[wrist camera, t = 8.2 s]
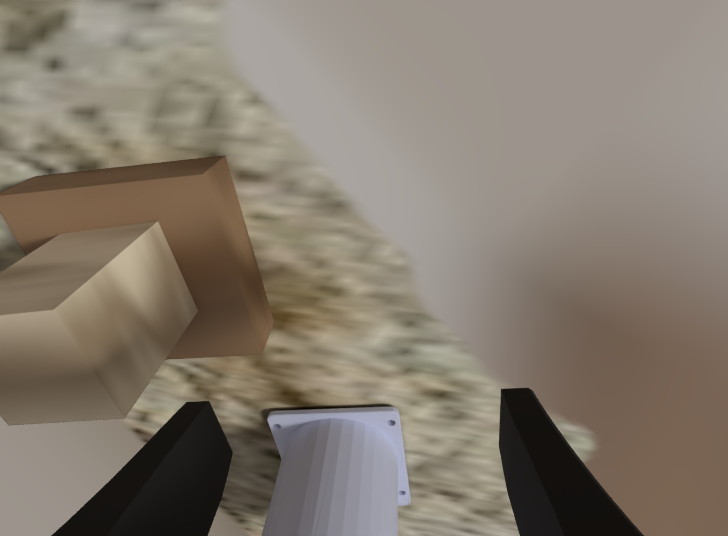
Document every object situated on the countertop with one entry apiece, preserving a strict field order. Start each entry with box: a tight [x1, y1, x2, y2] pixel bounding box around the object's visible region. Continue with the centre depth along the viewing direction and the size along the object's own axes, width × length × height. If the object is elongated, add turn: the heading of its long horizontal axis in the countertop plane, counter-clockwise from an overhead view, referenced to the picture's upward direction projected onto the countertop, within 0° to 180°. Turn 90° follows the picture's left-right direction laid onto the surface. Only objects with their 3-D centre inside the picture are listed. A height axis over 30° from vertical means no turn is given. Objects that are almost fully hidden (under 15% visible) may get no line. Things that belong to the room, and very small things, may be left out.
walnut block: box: [0, 156, 274, 359], centre depth 20 cm, size 9×9×3 cm
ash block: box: [0, 221, 198, 425], centre depth 16 cm, size 4×4×6 cm
